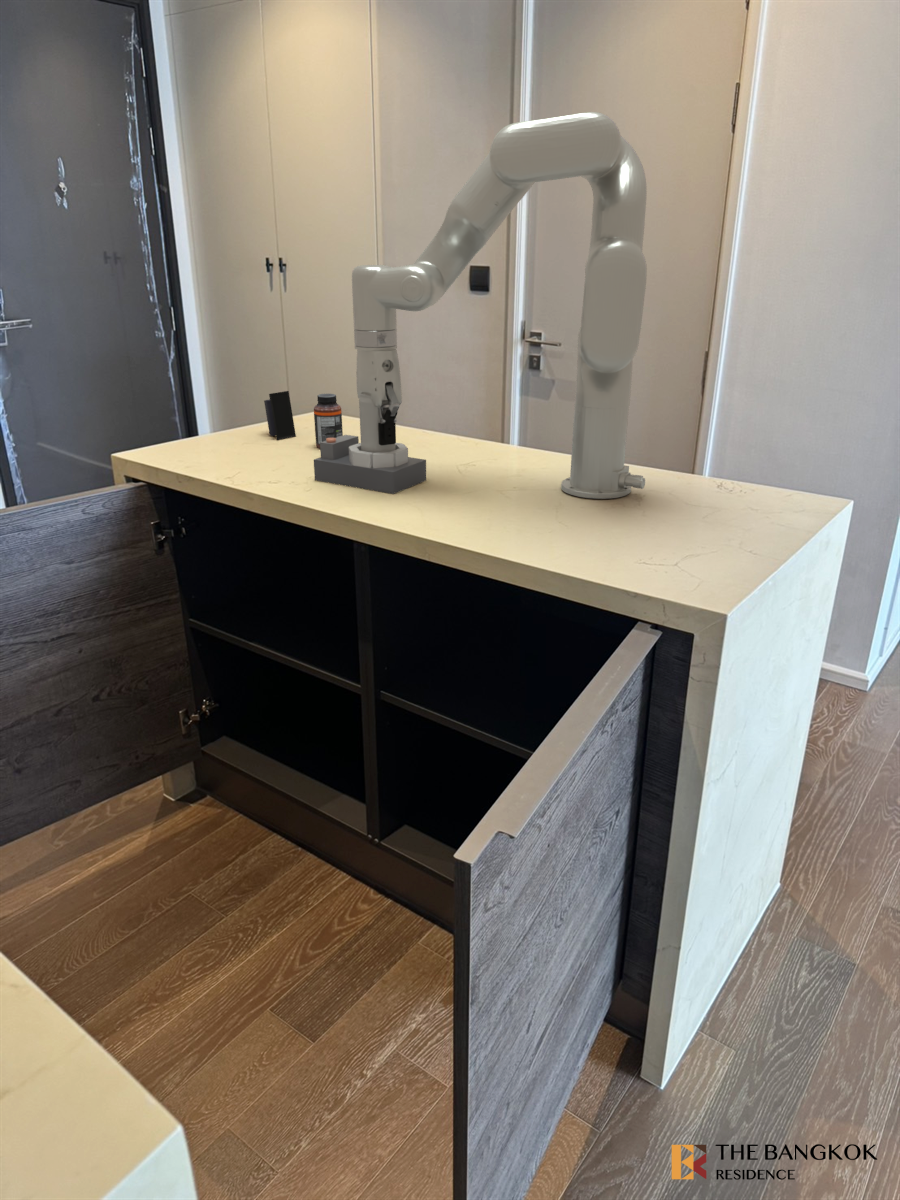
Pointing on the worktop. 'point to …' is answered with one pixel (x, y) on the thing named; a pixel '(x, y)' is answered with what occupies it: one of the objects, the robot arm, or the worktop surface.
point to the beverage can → (371, 426)
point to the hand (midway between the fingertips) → (379, 439)
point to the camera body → (367, 466)
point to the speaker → (280, 415)
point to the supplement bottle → (327, 418)
